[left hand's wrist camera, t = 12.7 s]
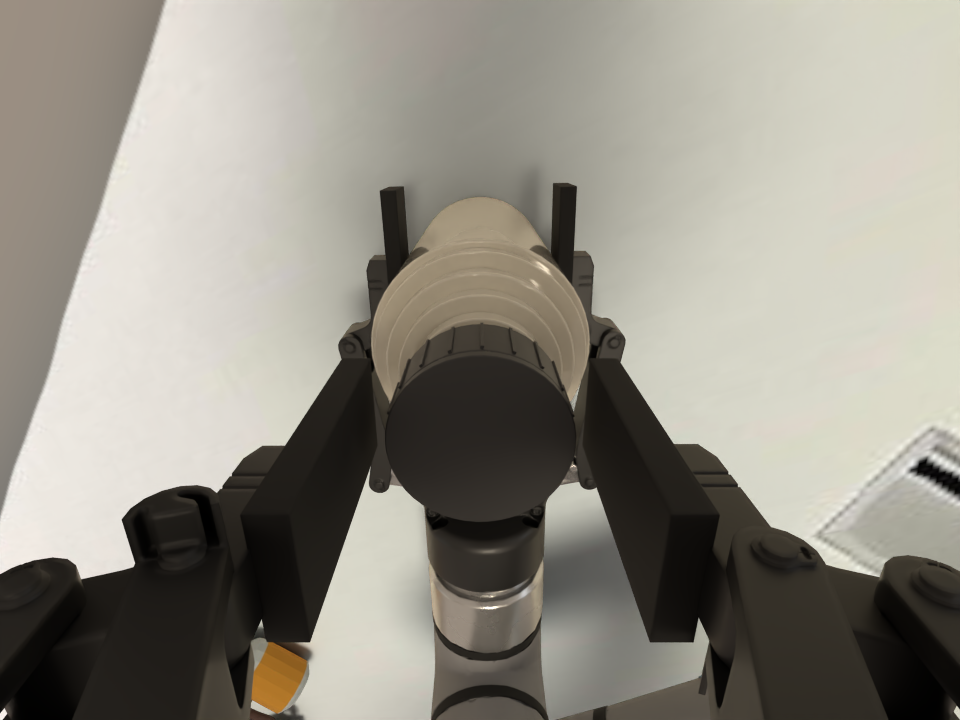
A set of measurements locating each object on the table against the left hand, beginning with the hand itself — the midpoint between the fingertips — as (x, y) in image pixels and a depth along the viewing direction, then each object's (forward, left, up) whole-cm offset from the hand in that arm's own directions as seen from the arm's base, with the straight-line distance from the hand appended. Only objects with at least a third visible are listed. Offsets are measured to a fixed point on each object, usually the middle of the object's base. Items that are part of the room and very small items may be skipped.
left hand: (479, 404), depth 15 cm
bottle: (0, 0, -20) cm, 20 cm away
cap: (0, 0, +2) cm, 2 cm away
